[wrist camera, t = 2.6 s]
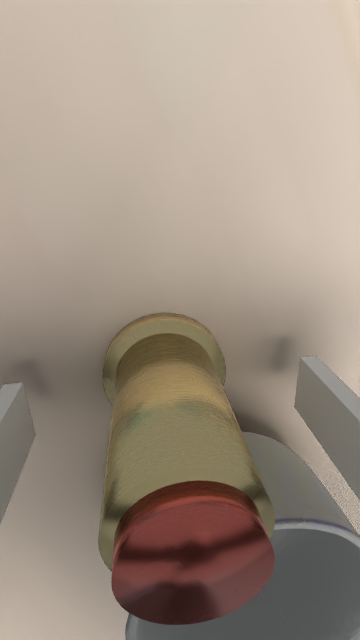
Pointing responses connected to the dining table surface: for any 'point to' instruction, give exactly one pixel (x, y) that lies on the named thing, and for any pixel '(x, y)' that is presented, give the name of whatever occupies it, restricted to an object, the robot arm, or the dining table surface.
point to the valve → (179, 479)
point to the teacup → (289, 565)
